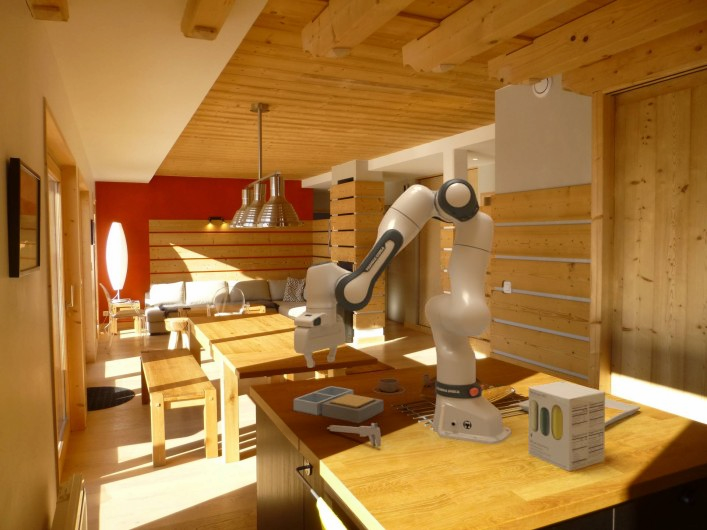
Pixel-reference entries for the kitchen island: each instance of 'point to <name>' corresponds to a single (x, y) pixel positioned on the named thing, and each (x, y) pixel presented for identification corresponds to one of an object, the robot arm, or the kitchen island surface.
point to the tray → (318, 399)
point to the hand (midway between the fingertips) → (321, 364)
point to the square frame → (352, 411)
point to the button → (353, 401)
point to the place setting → (394, 385)
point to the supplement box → (566, 424)
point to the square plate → (609, 403)
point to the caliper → (361, 432)
